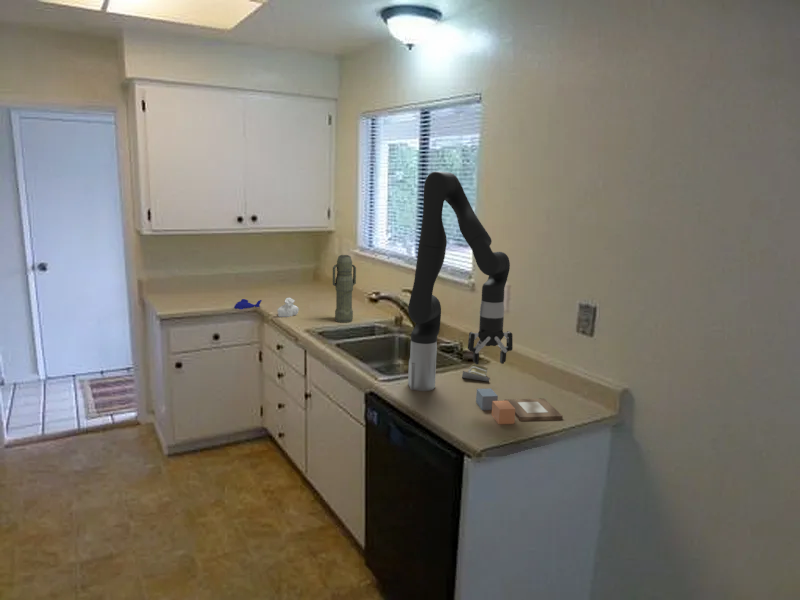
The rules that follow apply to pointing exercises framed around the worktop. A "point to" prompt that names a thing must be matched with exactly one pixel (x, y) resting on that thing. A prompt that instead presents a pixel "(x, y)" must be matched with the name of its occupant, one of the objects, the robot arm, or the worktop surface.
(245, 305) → the fish toy
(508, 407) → the terracotta brick
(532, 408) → the plate
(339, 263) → the thermos
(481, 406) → the slate brick
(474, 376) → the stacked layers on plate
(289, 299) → the bust
